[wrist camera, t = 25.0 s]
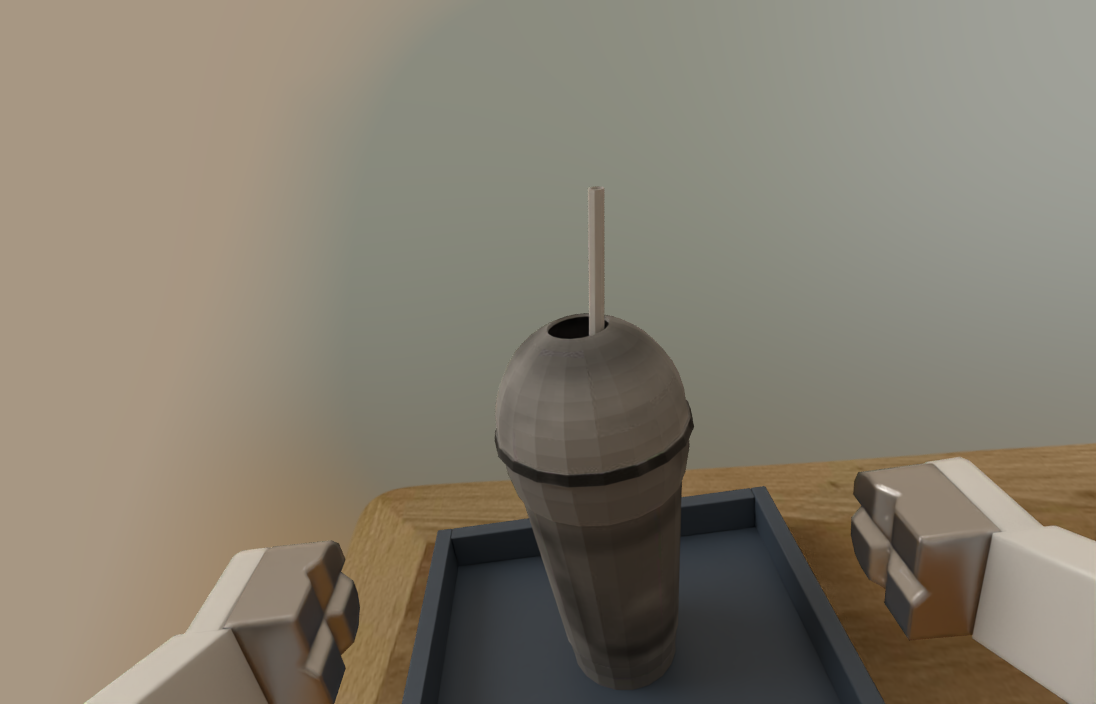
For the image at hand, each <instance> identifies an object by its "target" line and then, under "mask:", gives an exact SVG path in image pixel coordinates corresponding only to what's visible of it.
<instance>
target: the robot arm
mask: <svg viewBox="0 0 1096 704" xmlns="http://www.w3.org/2000/svg"><path fill="white" fill-rule="evenodd" d="M853 495H854V496H855V497H856V499H857V500H858V501H859V503H860V504H861V505H862V506H861V507H860V508H859V509H858V510H857V512H856V513H855V514H854V515H853V516H852V517H851V538H852V542H853V547H854V551H855V554H856V557H857V559H858V561H859V564H860V566H861V568H862V569H863V571H864V572H865V574H866V576H867V577H868V579H869V580H871V581H873V582H874V583H876V584H878V585H880V586H881V587H883V588H885V589H886V591H885V602H884V603H885V605H886V606H887V608H888V609H889V611H890V612H891V614H892V615H893V617H894V618H895V620H896V621H897V623H898V624H899V626H900V627H901V629H902V630H903V632H904V633H905V635H906V636H907V638H908V639H909V641H910V640H921V639H932V638H943V637H954V636H966V635H972V638H973V639H974V640H976V641H977V642H979V643H980V644H982V645H983V646H985V647H986V648H988V649H989V650H991V651H992V652H993V653H995V654H996V655H998V656H999V657H1001V658H1002V659H1004V660H1005V661H1007V662H1008V663H1010V664H1011V665H1013V666H1014V667H1016V668H1017V669H1019V670H1020V671H1022V672H1023V673H1025V674H1026V675H1027V676H1029V677H1030V678H1032V679H1033V680H1035V681H1036V682H1038V683H1039V684H1041V685H1042V686H1044V687H1045V688H1047V689H1048V690H1050V691H1051V692H1053V693H1054V694H1056V695H1057V696H1059V697H1060V698H1061V699H1063V700H1064V701H1066V702H1067V703H1069V704H1096V541H1094V540H1091V539H1089V538H1086V537H1083V536H1081V535H1078V534H1076V533H1073V532H1070V531H1068V530H1065V529H1063V528H1060V527H1057V526H1048V527H1043V526H1042V525H1041V524H1040V523H1039V522H1038V521H1037V520H1036V519H1034V518H1033V517H1032V516H1031V515H1030V514H1029V513H1028V512H1027V511H1025V510H1024V509H1023V508H1022V507H1021V506H1020V505H1019V504H1018V503H1016V502H1015V501H1014V500H1013V499H1012V498H1011V497H1010V496H1009V495H1007V494H1006V493H1005V492H1004V491H1003V490H1002V489H1001V488H1000V487H998V486H997V485H996V484H995V483H994V482H993V481H992V480H991V479H989V478H988V477H987V476H986V475H985V474H984V473H983V472H982V471H980V470H979V469H978V468H977V467H976V466H975V465H974V464H973V463H971V462H970V461H969V460H966V459H964V458H961V457H957V458H950V459H944V460H937V461H931V462H926V463H925V464H916V465H909V466H902V467H894V468H887V469H879V470H872V471H865V472H858V474H857V476H856V478H855V481H854V491H853ZM344 562H345V557H344V555H343V553H342V550H341V548H340V545H339V543H336V542H334V541H322V542H313V543H304V544H294V545H285V546H275V547H272V548H261V549H253V550H244V551H241V552H239V553H238V554H236V555H234V557H233V558H232V559H231V561H230V563H229V564H228V566H227V567H226V569H225V571H224V572H223V574H222V575H221V577H220V579H219V580H218V582H217V583H216V585H215V587H214V588H213V590H212V591H211V593H210V595H209V596H208V598H207V599H206V601H205V603H204V604H203V606H202V607H201V609H200V610H199V612H198V614H197V615H196V617H195V619H194V620H193V622H192V623H191V625H190V626H189V628H188V630H187V631H186V633H185V634H181V635H175V636H173V637H172V638H171V639H169V640H168V641H167V642H165V643H164V644H163V645H161V646H160V647H159V648H157V649H156V650H155V651H153V652H152V653H151V654H149V655H148V656H147V657H145V658H144V659H143V660H141V661H140V662H138V663H137V664H136V665H134V666H133V667H132V668H131V669H129V670H128V671H126V672H125V673H124V674H122V675H121V676H120V677H119V678H117V679H116V680H114V681H113V682H112V683H110V684H109V685H108V686H107V687H105V688H104V689H103V690H101V691H100V692H98V693H97V694H96V695H94V696H93V697H92V698H91V699H89V700H88V701H86V702H85V703H84V704H334V703H335V700H336V696H337V693H338V690H339V687H340V684H341V681H342V678H343V675H344V672H345V669H346V668H345V665H344V663H343V660H342V658H341V655H342V654H343V653H344V652H345V651H346V650H347V649H348V648H349V647H350V646H351V645H352V644H353V643H354V640H355V636H356V633H357V630H358V626H359V611H360V605H359V599H358V592H357V590H356V587H355V584H354V581H353V580H352V579H350V578H349V577H347V576H346V575H345V574H343V573H342V572H341V570H342V567H343V565H344Z"/></svg>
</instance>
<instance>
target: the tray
mask: <svg viewBox="0 0 1096 704" xmlns="http://www.w3.org/2000/svg"><path fill="white" fill-rule="evenodd" d="M675 647H676V651H675V654H674V658H673V661H672V664H671V665H670V667H669V668H668V669H667V671H666V672H665V673H664V675H663V676H662V677H660V678H659V679H657V680H656V681H654V682H653V683H651V684H650V685H647V686H644V687H641V688H637V689H634V690H614V689H611V688H608V687H604V686H601V685H599V684H597V683H596V682H594V681H593V680H592V679H590V678H589V677H587V676H586V675H585V673H584V672H583V671H582V669H581V668H580V667H579V665H578V663H577V660H576V656H575V653H574V651H573V648H572V645H571V643H570V642H569V641H568V637H567V634H566V631H565V628H564V625H563V622H562V619H561V616H560V613H559V610H558V606H557V603H556V600H555V597H554V594H553V591H552V588H551V585H550V582H549V578H548V575H547V572H546V569H545V566H544V563H543V560H542V557H541V554H540V551H539V547H538V544H537V541H536V538H535V535H534V532H533V529H532V526H531V523H530V519H529V518H528V519H521V520H514V521H506V522H499V523H492V524H484V525H477V526H470V527H463V528H455V529H453V530H452V529H446V530H439V531H438V533H437V538H436V543H435V547H434V552H433V557H432V562H431V567H430V571H429V576H428V581H427V586H426V591H425V595H424V600H423V605H422V610H421V615H420V619H419V624H418V629H417V634H416V638H415V643H414V648H413V653H412V658H411V662H410V667H409V672H408V677H407V682H406V686H405V691H404V696H403V701H402V704H885V702H884V700H883V699H882V697H881V695H880V693H879V691H878V690H877V688H876V686H875V684H874V682H873V681H872V679H871V677H870V675H869V673H868V671H867V670H866V668H865V666H864V664H863V662H862V661H861V659H860V657H859V655H858V653H857V652H856V650H855V648H854V646H853V644H852V643H851V641H850V639H849V637H848V635H847V633H846V632H845V630H844V628H843V626H842V624H841V623H840V621H839V619H838V617H837V615H836V614H835V612H834V610H833V608H832V606H831V605H830V603H829V601H828V599H827V597H826V596H825V594H824V592H823V590H822V588H821V586H820V585H819V583H818V581H817V579H816V577H815V576H814V574H813V572H812V570H811V568H810V567H809V565H808V563H807V561H806V559H805V558H804V556H803V554H802V552H801V550H800V548H799V547H798V545H797V543H796V541H795V539H794V538H793V536H792V534H791V532H790V530H789V529H788V527H787V525H786V523H785V521H784V520H783V518H782V516H781V514H780V512H779V511H778V509H777V507H776V505H775V503H774V501H773V500H772V498H771V496H770V494H769V492H768V491H767V489H766V487H765V486H762V487H755V488H751V489H750V488H747V489H740V490H733V491H725V492H718V493H711V494H703V495H696V496H689V497H681V531H680V570H679V608H678V627H677V630H676V639H675Z"/></svg>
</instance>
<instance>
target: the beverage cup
mask: <svg viewBox="0 0 1096 704" xmlns="http://www.w3.org/2000/svg"><path fill="white" fill-rule="evenodd" d="M588 246H589V247H588V249H589V313H588V314H587V313H584V314H575V315H570V316H566V317H563V318H560V319H558V320H555V321H552V322H550V323H548V324H546V325H544V326H543V327H541V328H540V329H538V330H537V331H536V332H534V333H533V334H531V335H530V336H529V337H528V338H527V339H526V340H525V341H524V342H523V343H522V345H521V346H520V347H519V348H518V349H517V350H516V351H515V352H514V354H513V356H512V358H511V359H510V361H509V362H508V365H507V367H506V370H505V372H504V375H503V378H502V380H501V383H500V386H499V388H498V393H497V398H496V406H495V407H496V408H495V419H496V426H497V428H496V431H495V443H496V448H497V452H498V457H499V458H500V459H501V460H502V461H503V462H504V463H505V464H506V468H507V471H508V475H509V477H510V479H511V481H512V483H513V485H514V488H515V490H516V492H517V494H518V496H519V498H520V499H521V500H522V501H523V502H524V504H525V507H526V510H527V513H528V516H529V519H530V523H531V526H532V529H533V532H534V535H535V538H536V541H537V544H538V547H539V551H540V554H541V557H542V560H543V563H544V566H545V569H546V572H547V575H548V578H549V582H550V585H551V588H552V591H553V594H554V597H555V600H556V603H557V606H558V610H559V613H560V616H561V619H562V622H563V625H564V628H565V631H566V634H567V637H568V641H569V642H570V643H571V645H572V648H573V651H574V653H575V656H576V660H577V663H578V665H579V667H580V668H581V669H582V671H583V672H584V673H585V675H586V676H587V677H589V678H590V679H592V680H593V681H594V682H596V683H597V684H599V685H601V686H604V687H608V688H611V689H614V690H634V689H637V688H641V687H644V686H647V685H650V684H651V683H653V682H654V681H656V680H657V679H659V678H660V677H662V676H663V675H664V673H665V672H666V671H667V669H668V668H669V667H670V665H671V664H672V661H673V658H674V654H675V651H676V647H675V639H676V630H677V627H678V608H679V570H680V531H681V492H682V479H683V476H684V474H685V470H686V464H687V458H688V452H689V438H690V435H691V432H692V430H693V428H694V424H693V419H692V413H691V409H690V406H689V403H688V401H687V400H686V398H685V392H684V387H683V384H682V381H681V378H680V375H679V372H678V371H677V369H676V367H675V365H674V363H673V361H672V360H671V359H670V357H669V356H668V355H667V354H666V352H665V351H664V350H663V348H662V347H661V346H660V345H659V344H658V343H657V342H656V341H655V340H654V339H653V338H652V337H650V336H649V335H648V334H647V333H646V332H645V331H643V330H642V329H640V328H639V327H637V326H635V325H633V324H631V323H629V322H627V321H624V320H622V319H619V318H616V317H613V316H609V315H604V188H603V187H599V186H597V187H596V186H595V187H590V188H588Z"/></svg>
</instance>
